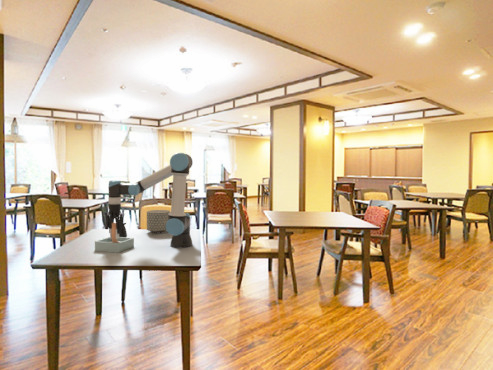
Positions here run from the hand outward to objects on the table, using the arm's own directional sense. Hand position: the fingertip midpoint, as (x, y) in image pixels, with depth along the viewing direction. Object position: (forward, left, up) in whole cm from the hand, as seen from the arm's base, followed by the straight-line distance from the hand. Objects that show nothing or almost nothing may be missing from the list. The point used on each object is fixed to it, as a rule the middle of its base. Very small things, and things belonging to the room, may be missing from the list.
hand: (114, 238), depth 204 cm
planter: (0, -56, -7) cm, 56 cm away
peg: (0, 0, -4) cm, 4 cm away
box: (0, 0, -7) cm, 7 cm away
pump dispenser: (+9, -17, -7) cm, 20 cm away
